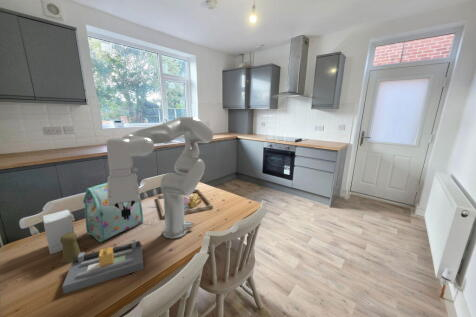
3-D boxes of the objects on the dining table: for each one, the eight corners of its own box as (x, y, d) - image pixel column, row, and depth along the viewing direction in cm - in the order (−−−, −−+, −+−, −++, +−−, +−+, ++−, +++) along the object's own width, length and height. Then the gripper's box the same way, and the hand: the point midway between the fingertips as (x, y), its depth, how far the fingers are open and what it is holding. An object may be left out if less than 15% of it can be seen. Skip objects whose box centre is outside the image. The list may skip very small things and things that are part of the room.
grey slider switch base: (142, 248, 87) (141, 238, 85) (143, 268, 75) (142, 256, 74) (74, 266, 75) (72, 254, 74) (63, 294, 64) (61, 280, 63)
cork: (79, 251, 84) (75, 228, 82) (83, 257, 80) (79, 234, 78) (61, 258, 80) (56, 234, 77) (64, 265, 76) (59, 241, 74)
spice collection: (205, 198, 142) (205, 187, 140) (196, 214, 119) (195, 200, 117) (173, 197, 144) (173, 185, 142) (158, 211, 121) (157, 198, 119)
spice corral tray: (198, 192, 153) (198, 189, 152) (212, 209, 125) (212, 205, 124) (156, 199, 138) (156, 195, 137) (162, 220, 110) (162, 215, 110)
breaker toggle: (114, 257, 76) (112, 245, 75) (113, 264, 73) (111, 251, 71) (101, 261, 74) (100, 248, 73) (100, 268, 71) (98, 254, 70)
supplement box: (77, 245, 88) (72, 215, 85) (50, 255, 81) (43, 223, 78) (73, 237, 94) (68, 209, 91) (48, 245, 87) (41, 215, 84)
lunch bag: (129, 215, 115) (125, 172, 110) (146, 223, 107) (142, 177, 102) (84, 234, 96) (76, 183, 91) (100, 245, 88) (92, 190, 82)
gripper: (144, 167, 77) (147, 209, 80) (98, 171, 70) (104, 217, 73) (145, 172, 70) (148, 218, 74) (95, 177, 63) (101, 227, 67)
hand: (126, 217), depth 74 cm, fingers closed
